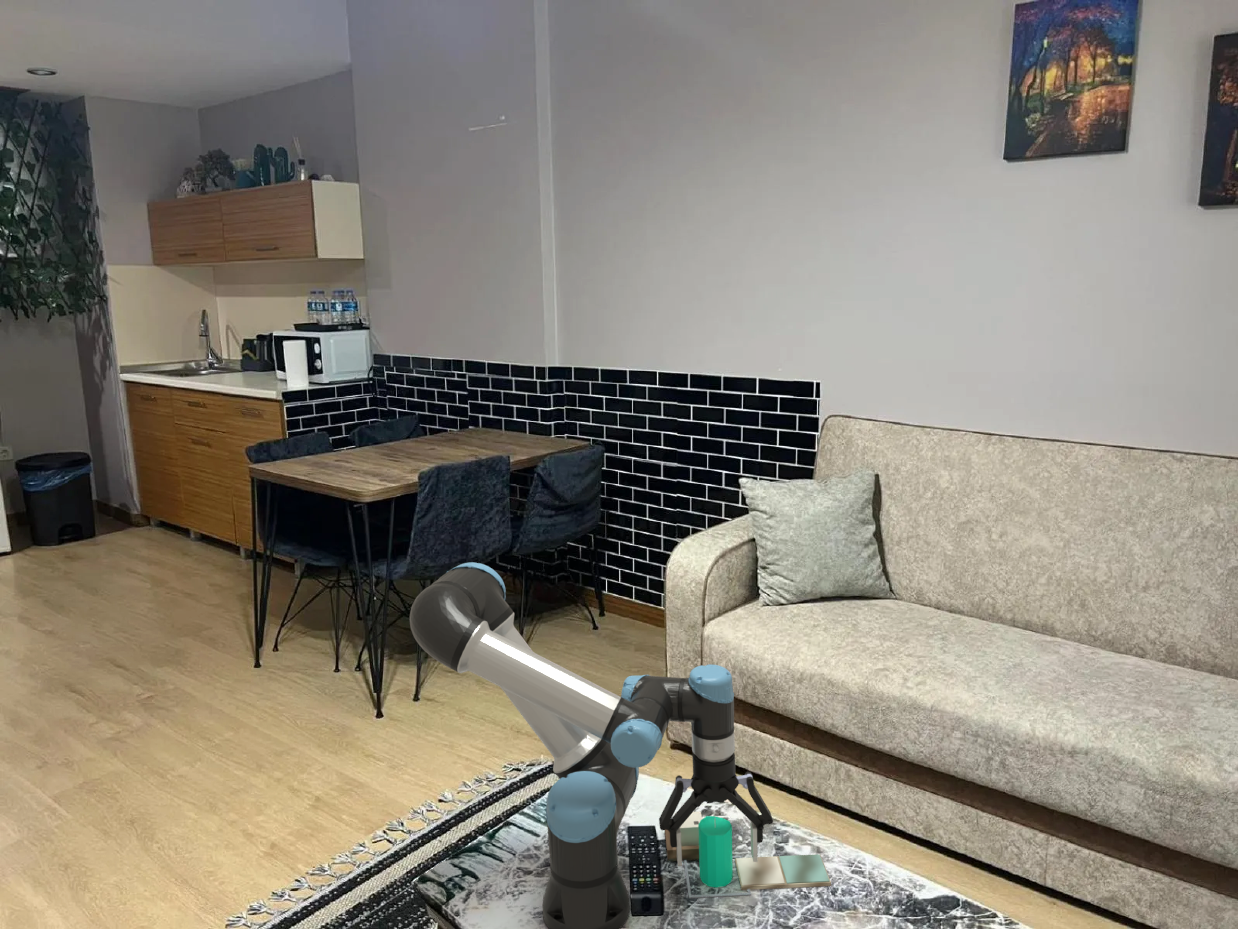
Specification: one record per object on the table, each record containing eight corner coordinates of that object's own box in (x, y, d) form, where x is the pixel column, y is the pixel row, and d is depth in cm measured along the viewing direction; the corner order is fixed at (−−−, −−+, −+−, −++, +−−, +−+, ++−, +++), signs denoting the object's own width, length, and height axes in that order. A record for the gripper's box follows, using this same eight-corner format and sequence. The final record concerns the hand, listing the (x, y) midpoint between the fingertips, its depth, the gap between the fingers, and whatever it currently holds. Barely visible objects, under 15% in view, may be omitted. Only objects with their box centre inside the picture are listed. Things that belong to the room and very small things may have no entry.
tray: (667, 861, 172) (667, 850, 171) (664, 833, 181) (664, 822, 180) (720, 859, 172) (720, 847, 172) (715, 830, 181) (715, 819, 180)
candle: (693, 872, 169) (692, 814, 166) (721, 862, 171) (720, 804, 169) (710, 891, 163) (709, 831, 161) (739, 881, 166) (738, 821, 163)
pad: (688, 898, 162) (688, 897, 162) (683, 859, 172) (683, 858, 172) (751, 895, 162) (751, 894, 162) (741, 856, 173) (741, 855, 173)
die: (678, 852, 174) (677, 828, 173) (675, 836, 179) (674, 812, 178) (704, 850, 174) (704, 826, 173) (701, 834, 179) (700, 811, 178)
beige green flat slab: (741, 890, 163) (741, 885, 163) (735, 862, 171) (734, 857, 171) (830, 886, 163) (831, 881, 163) (820, 858, 171) (820, 853, 171)
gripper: (643, 767, 158) (649, 876, 163) (788, 759, 158) (789, 868, 163) (642, 745, 166) (647, 850, 170) (779, 738, 166) (781, 843, 170)
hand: (716, 859), depth 166 cm, fingers open, 13 cm apart
